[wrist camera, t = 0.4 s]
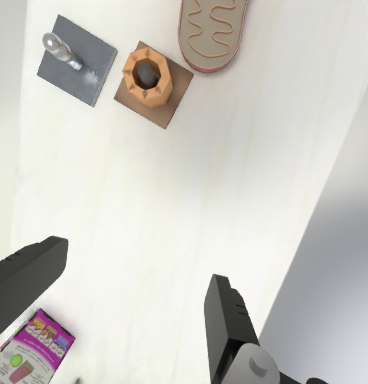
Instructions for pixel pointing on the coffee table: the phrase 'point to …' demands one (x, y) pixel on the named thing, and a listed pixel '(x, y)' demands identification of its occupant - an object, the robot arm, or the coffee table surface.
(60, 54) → the silver peg on base
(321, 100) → the coffee table surface
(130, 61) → the collar
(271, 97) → the coffee table surface
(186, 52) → the anatomical model
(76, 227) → the coffee table surface
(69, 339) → the candy bar box
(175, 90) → the stand
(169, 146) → the coffee table surface
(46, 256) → the robot arm
